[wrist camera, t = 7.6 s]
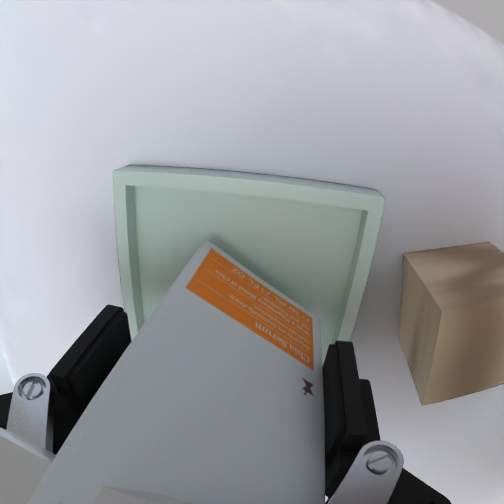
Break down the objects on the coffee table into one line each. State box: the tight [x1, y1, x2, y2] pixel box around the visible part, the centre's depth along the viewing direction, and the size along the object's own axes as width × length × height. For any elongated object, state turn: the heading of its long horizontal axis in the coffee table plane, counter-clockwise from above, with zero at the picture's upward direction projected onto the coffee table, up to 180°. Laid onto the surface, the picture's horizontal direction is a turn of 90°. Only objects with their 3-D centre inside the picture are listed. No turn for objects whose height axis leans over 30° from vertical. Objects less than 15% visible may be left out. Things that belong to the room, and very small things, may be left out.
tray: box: [113, 165, 385, 364], centre depth 15 cm, size 11×11×2 cm
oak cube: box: [398, 242, 504, 406], centre depth 12 cm, size 5×5×5 cm
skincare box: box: [28, 241, 325, 504], centre depth 9 cm, size 6×4×12 cm
